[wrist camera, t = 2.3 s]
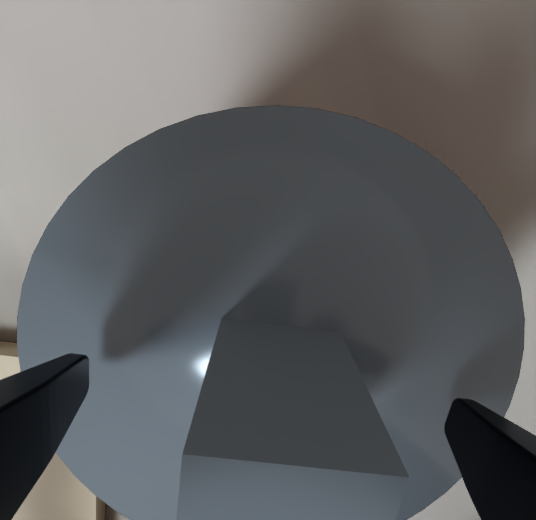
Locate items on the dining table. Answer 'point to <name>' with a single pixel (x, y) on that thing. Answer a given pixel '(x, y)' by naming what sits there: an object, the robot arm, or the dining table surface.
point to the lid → (272, 319)
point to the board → (52, 476)
